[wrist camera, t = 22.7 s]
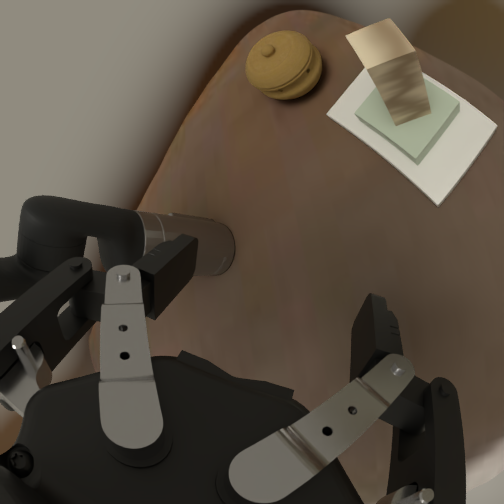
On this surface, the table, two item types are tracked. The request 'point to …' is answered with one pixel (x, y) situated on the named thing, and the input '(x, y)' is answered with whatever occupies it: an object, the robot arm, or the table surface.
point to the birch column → (392, 69)
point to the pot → (284, 65)
